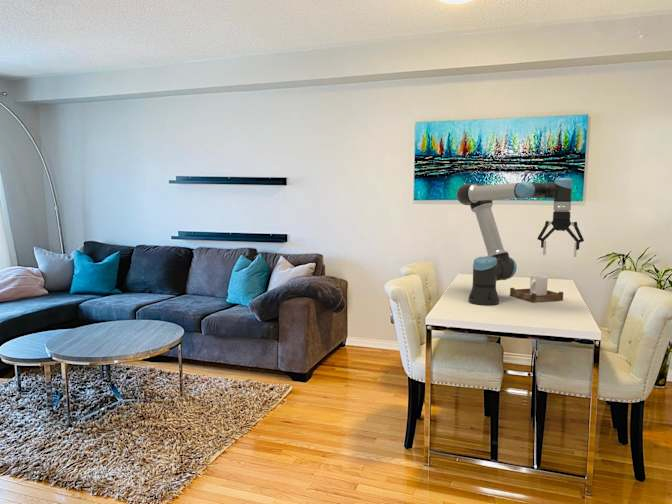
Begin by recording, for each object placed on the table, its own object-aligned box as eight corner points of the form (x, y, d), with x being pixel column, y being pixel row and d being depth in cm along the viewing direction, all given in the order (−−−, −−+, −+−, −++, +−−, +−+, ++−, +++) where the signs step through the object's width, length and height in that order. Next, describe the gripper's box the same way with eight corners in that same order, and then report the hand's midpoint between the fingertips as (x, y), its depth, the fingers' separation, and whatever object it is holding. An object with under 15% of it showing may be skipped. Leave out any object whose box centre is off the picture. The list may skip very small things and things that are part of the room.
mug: (522, 296, 280) (523, 276, 279) (535, 294, 287) (536, 274, 286) (536, 298, 273) (537, 278, 272) (549, 296, 280) (551, 276, 279)
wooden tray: (509, 295, 286) (510, 287, 285) (538, 294, 292) (538, 286, 292) (533, 302, 268) (533, 294, 267) (562, 300, 274) (563, 292, 274)
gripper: (532, 210, 248) (530, 254, 250) (590, 211, 235) (587, 258, 237) (535, 210, 254) (533, 253, 256) (591, 211, 241) (589, 256, 244)
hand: (559, 255), depth 247 cm, fingers open, 13 cm apart
